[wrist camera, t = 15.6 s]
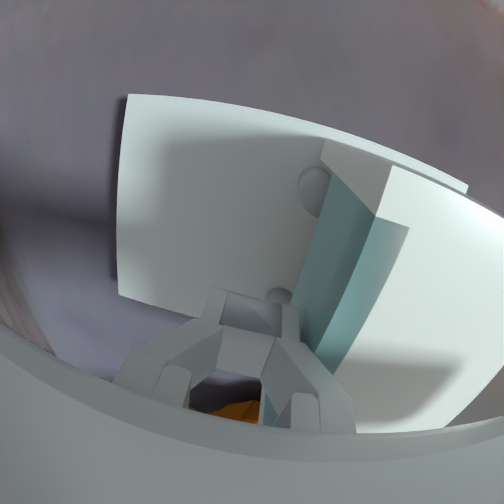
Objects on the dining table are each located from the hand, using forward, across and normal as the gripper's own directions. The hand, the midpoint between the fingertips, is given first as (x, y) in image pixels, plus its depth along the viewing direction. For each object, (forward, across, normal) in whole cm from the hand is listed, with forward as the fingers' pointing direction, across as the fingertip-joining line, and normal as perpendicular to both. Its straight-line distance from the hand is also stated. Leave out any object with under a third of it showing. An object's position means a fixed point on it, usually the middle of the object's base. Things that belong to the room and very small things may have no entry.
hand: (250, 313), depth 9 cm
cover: (+5, -6, 0) cm, 8 cm away
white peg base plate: (+7, -1, 0) cm, 7 cm away
